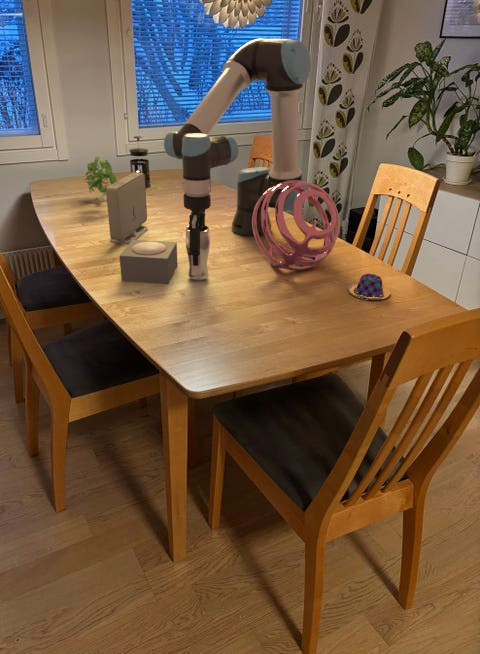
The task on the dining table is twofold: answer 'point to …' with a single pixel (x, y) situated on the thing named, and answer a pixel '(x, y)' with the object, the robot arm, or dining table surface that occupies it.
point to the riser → (149, 261)
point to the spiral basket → (310, 232)
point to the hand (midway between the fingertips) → (198, 269)
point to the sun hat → (369, 286)
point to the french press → (144, 163)
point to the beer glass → (203, 251)
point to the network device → (127, 207)
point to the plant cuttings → (99, 176)
